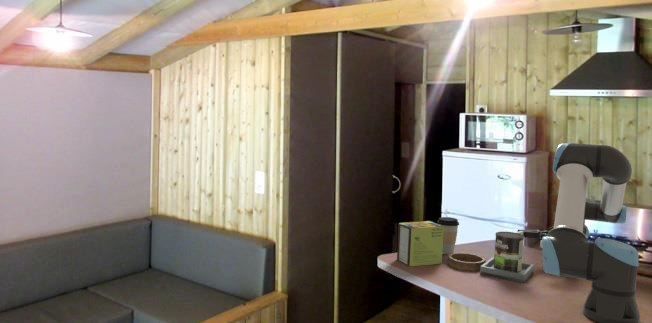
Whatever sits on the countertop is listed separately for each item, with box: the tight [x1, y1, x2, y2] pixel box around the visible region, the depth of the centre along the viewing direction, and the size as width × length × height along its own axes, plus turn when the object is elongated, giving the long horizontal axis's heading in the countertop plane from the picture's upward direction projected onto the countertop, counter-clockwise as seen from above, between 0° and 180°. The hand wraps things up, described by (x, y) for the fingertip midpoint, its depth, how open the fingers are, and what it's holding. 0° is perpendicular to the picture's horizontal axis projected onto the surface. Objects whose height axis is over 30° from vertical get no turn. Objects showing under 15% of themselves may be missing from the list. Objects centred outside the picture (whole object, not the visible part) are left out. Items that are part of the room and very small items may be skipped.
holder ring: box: [447, 252, 487, 272], centre depth 203 cm, size 14×14×3 cm
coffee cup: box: [436, 216, 460, 255], centre depth 220 cm, size 9×9×15 cm
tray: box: [479, 256, 535, 284], centre depth 194 cm, size 16×16×3 cm
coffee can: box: [494, 231, 525, 273], centre depth 194 cm, size 10×10×14 cm
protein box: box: [396, 220, 444, 267], centre depth 206 cm, size 10×15×16 cm
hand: (525, 240), depth 198 cm, fingers open, 13 cm apart
